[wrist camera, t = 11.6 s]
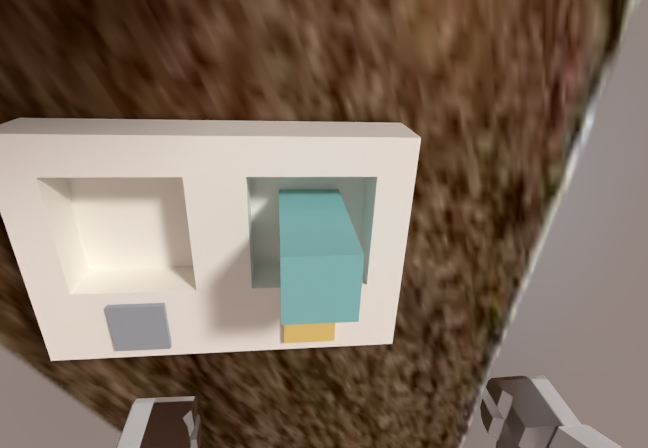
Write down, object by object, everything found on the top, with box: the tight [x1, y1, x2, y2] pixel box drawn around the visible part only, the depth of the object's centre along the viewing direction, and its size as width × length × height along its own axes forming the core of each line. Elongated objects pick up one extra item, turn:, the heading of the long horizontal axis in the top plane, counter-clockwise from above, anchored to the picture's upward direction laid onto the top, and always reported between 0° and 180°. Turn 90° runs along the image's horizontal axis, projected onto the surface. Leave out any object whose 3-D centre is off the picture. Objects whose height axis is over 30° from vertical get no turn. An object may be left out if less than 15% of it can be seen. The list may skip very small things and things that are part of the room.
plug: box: [279, 189, 364, 325], centre depth 20 cm, size 3×3×8 cm
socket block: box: [0, 118, 421, 361], centre depth 23 cm, size 13×20×4 cm, turn 88°
